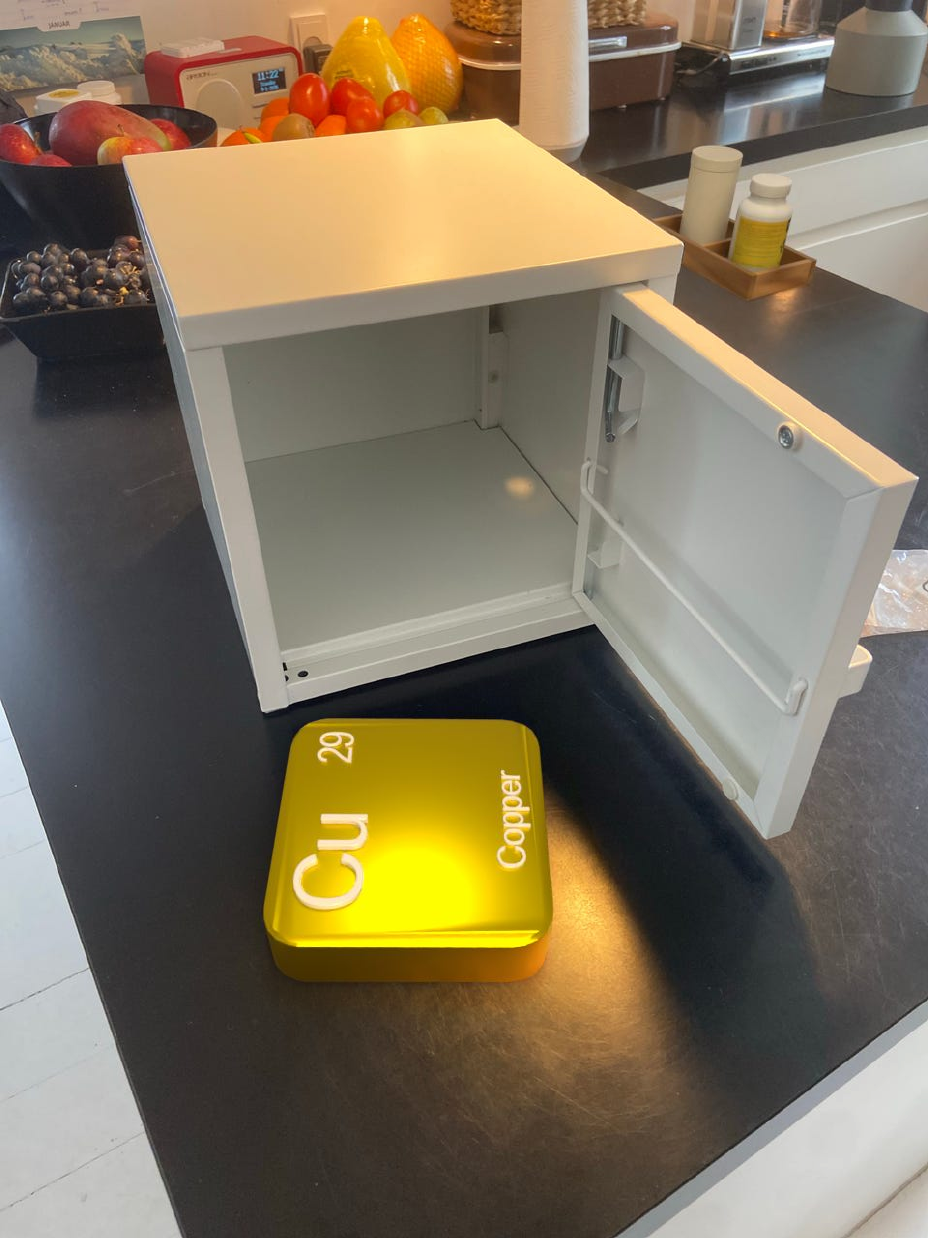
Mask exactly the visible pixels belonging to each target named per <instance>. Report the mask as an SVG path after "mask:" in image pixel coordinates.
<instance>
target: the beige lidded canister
mask: <svg viewBox="0 0 928 1238" xmlns="http://www.w3.org/2000/svg"><path fill="white" fill-rule="evenodd" d="M743 157H744V154H743V152H741V151H740V150H739V149H736V148H733V147H728V146H723V145H702V146H698V147H695V148H694V149H693V150H692V153H691V158H690V168H689V174H688V180H687V186H686V192H685V196H684V203H683V209H682V213H683V214H682V219H681V225H680V231H679V234H680V235H682V236H684V237H686V238H688V239H690V240H692V241H694V242H695V243H697V244H699V245H700V244H704V243H709V242H713V241H718V240H722V239H725V236H726V231H727V226H728V221H729V218H730V216H731V212H732V206H733V201H734V197H735V192H736V187H737V182H738V178H739V172H740V169H741V168H742V162H743Z"/></svg>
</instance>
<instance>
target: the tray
mask: <svg viewBox="0 0 928 1238" xmlns="http://www.w3.org/2000/svg"><path fill="white" fill-rule="evenodd" d="M682 214H683V212H682V213H677V214H671V215H666V216H661V217H657V218H652V219H651V218H650V220H651V221H653V222H654V223H656V224H657V225H658V226H660V227H662V228H663V229H665V230H666V231H667V232H669V233H671V234H672V235H674V236H677V237H678V238H680V239H681V240H682V241H683V242H684V243H685V251H684V256H683V261H682V265H681V266H683V264H684V266H683V267H685V268H686V269H688V270H691V271H692V272H694V273H696V274H698V275H699V276H701V277H703V278H705V279H707V280H709V281H710V282H712V283H714V284H715V285H717V286H719V287H721V288H722V289H725V290H726V291H728V292H730V293H732V294H734V295H736V296H737V297H739V298H741V299H743V300H744V301H751V300H755V299H759V298H763V297H766V296H771V295H774V294H778V293H781V292H782V293H783V292H785V291H790V290H793V289H797V288H801V287H805V286H809V285H811V283H812V280H813V276H814V272H815V268H816V265H817V261H818V260H817V259H815V258H814V257H811V256H809V255H807V254H805V253H804V252H801V251H799V250H797V249H795V248H793V247H791V246H788V245H786V244H785V245H784V249H783V253H782V257H781V261H780V265H779V266H778V267H773V268H769V269H765V270H761V271H757V272H751V271H749V270H747V269H745V268H743V267H741V266H739V265H737V264H736V263H734V262H732V261H730V260H728V259H727V257H728V253H729V248H730V243H731V238H732V234H733V229H734V224H735V219H732V218H730V217H729V221H728V226H727V231H726V236H725V239H722V240H718V241H713V242H709V243H704V244H700V245H699V244H697V243H695V242H694V241H692V240H690V239H688V238H686V237H684V236H682V235H680V234H679V231H680V225H681V219H682Z"/></svg>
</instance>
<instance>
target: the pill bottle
mask: <svg viewBox="0 0 928 1238" xmlns="http://www.w3.org/2000/svg"><path fill="white" fill-rule="evenodd" d="M792 186H793V181H792V179H791V178H789V177H787V176H784V175H781V174H778V173H768V172H767V173H758V174H757V173H756V174H754V175H752V177H751V180H750V184H749V191H750V195H749V196H747V197H745V198H744V199H743V200H741V201H740V202H739V204H738V205H737V210H736V214H735V219H734V220H735V224H734V229H733V234H732V238H731V243H730V248H729V253H728V257H727V259H728V260H730V261H732V262H734V263H736V264H737V265H739V266H741V267H743V268H745V269H747V270H749V271H751V272H757V271H761V270H765V269H769V268H773V267H778V266H779V265H780V261H781V257H782V253H783V249H784V245H786V241H787V237H788V232H789V228H790V225H791V221H792V218H793V213H794V212H793V207H792V204H791V203H790V202H789V201H788V200H787V197H788V196H789V195H790V193H791V190H792Z"/></svg>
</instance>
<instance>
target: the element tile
mask: <svg viewBox="0 0 928 1238" xmlns="http://www.w3.org/2000/svg"><path fill="white" fill-rule="evenodd" d="M540 747H541V746H540V745H539V741H538V738H537V736H536V735H535V734H534V732H533V730H532V729H530V728H529V727H527V726H526V725H524V724H523V723H520V722H517V721H515V720H510V719H509V720H508V719H488V718H487V719H479V718H478V719H477V718H476V719H474V718H473V719H469V718H468V719H467V718H465V719H464V718H460V719H459V718H452V719H451V718H450V719H449V718H323V719H318V720H315V721H312V722H308V723H307V724H305V725H304V726H302V727H300V729H299V730H298V732H297V733H296V734H295V735H294V737H293V738H292V741H291V744H290V748H289V754H288V759H287V765H286V771H285V776H284V777H285V778H284V784H283V788H282V789H283V790H282V795H281V801H280V807H279V814H278V819H277V825H276V831H275V837H274V842H273V849H272V853H271V854H272V855H271V859H270V866H269V871H268V878H267V884H266V889H265V895H264V901H263V906H262V907H263V909H262V910H263V911H262V912H263V913H262V917H263V918H262V920H263V924H264V927H265V931H266V935H267V939H268V943H269V947H270V950H271V955H272V958H273V961H274V963H275V966H276V967H277V968H278V970H279V971H280V972H281V973H282V974H283V975H284V976H287V977H288V978H291V979H293V980H296V981H298V982H303V983H516V982H520V981H523V980H526V979H528V978H530V977H533V976H534V975H535V974H537V972H538V971H540V969H541V968H542V967H543V966H544V963H545V961H546V957H547V955H548V951H549V945H550V939H551V932H552V926H553V920H554V899H553V887H552V885H553V884H552V875H551V863H550V850H549V840H548V839H549V838H548V829H547V828H548V827H547V817H546V816H547V815H546V806H545V805H546V804H545V791H544V782H543V781H544V780H543V771H542V759H541V748H540Z"/></svg>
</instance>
